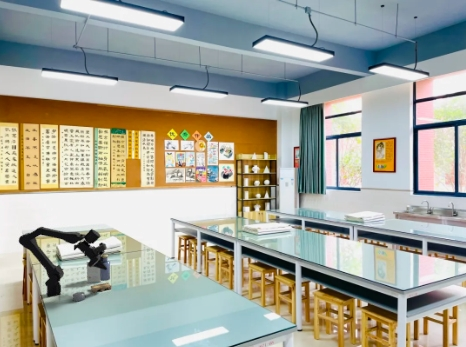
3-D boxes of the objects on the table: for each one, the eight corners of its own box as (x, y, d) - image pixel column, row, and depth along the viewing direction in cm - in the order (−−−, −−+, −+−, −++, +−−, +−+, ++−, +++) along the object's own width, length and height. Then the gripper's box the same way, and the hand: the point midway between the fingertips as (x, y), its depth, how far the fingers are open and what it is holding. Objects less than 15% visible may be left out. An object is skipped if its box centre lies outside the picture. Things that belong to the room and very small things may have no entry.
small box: (103, 278, 223) (102, 258, 223) (100, 282, 217) (100, 261, 217) (90, 279, 222) (89, 259, 222) (86, 282, 216) (86, 262, 216)
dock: (93, 292, 199) (93, 289, 199) (90, 289, 204) (90, 286, 204) (111, 289, 204) (111, 285, 204) (108, 285, 210) (108, 282, 210)
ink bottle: (102, 281, 198) (102, 256, 198) (98, 279, 202) (98, 255, 201) (111, 279, 202) (111, 255, 201) (107, 277, 205) (107, 253, 205)
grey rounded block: (73, 302, 185) (73, 297, 185) (71, 299, 190) (71, 293, 190) (85, 300, 188) (85, 294, 188) (83, 296, 193) (83, 291, 193)
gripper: (94, 242, 191) (115, 262, 193) (101, 236, 210) (120, 253, 212) (78, 257, 190) (100, 276, 192) (87, 249, 209) (106, 267, 211)
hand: (107, 267), depth 202 cm, fingers closed on ink bottle, 5 cm apart
